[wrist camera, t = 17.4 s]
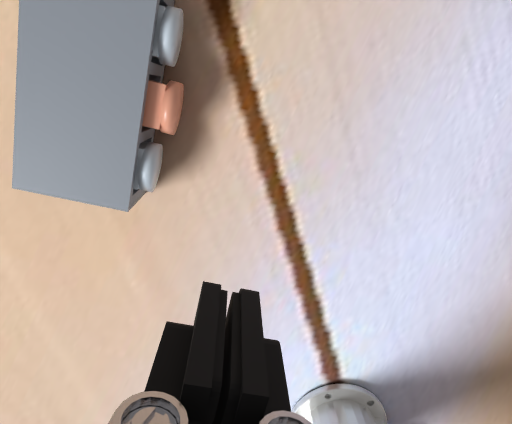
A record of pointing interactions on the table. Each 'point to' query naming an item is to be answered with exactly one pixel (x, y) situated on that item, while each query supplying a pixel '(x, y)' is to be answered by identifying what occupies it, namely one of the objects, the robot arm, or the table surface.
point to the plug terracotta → (163, 106)
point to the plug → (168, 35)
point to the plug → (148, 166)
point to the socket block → (83, 97)
